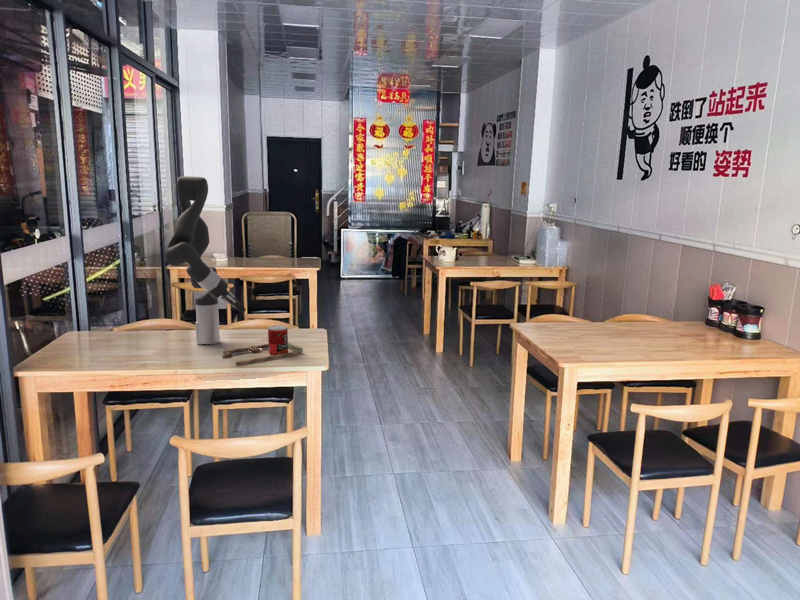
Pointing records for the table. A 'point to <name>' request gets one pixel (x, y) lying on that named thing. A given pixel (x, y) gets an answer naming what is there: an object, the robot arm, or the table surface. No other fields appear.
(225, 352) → the brown pliers
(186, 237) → the robot arm
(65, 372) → the table surface
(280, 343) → the canned food
